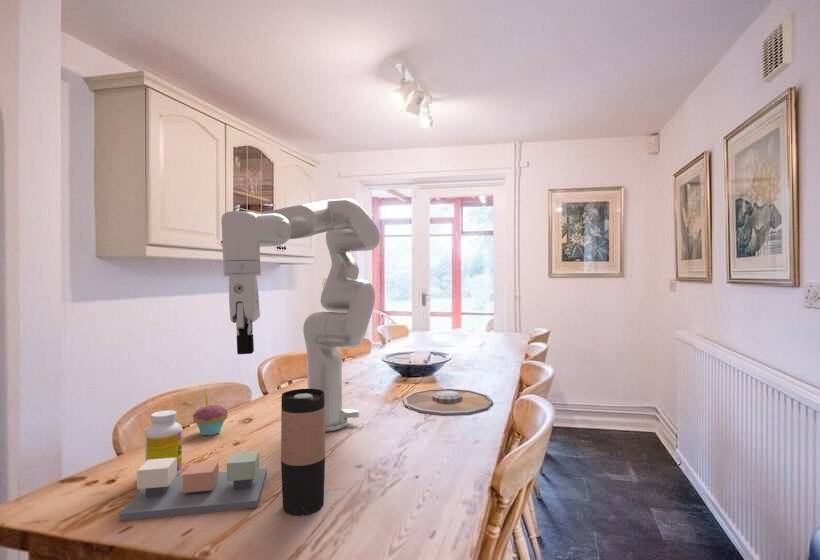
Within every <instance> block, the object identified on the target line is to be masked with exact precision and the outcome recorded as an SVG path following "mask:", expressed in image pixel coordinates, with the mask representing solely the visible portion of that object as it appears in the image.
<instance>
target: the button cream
mask: <svg viewBox="0 0 820 560" xmlns="http://www.w3.org/2000/svg"><path fill="white" fill-rule="evenodd" d="M136 471H137V472H136V474H137V475H136V476H137V479H136V480H137V481H136V483H137V484H136V488H137V490H141V489H145V488H156V487H168V486H169V484H170V483H171V482H172V480H173V479H174V478H175V476H176V475H177V457H176V458H163V459H149V460H147V461H146V462H144V463H143V464H142V465H141V466H140V467H139V468H138V469H137V470H136ZM177 476H178V475H177Z"/></svg>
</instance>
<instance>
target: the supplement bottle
mask: <svg viewBox="0 0 820 560" xmlns="http://www.w3.org/2000/svg"><path fill="white" fill-rule="evenodd" d="M177 417H178V414H177V410H173V409H168V410H159V411H155V412H153V413H151V414H150V421H151V425H150V426H148V427H147V428H146V430H145V436H144V438H145V441H144V442H145V444H144V445H145V448H144V449H145V450H144V451H145V453H144V454H145V456H144V458H145V460H144V461H145V462H146V461H147V460H149V459H163V458H176V457H177V475H176V476H179V475H180V474H181V472H182V470H183V469H182V468H183V464H182V463H183V455H182V453H183V452H182V450H183V448H182V447H183V443H182V442H183V441H182V440H183V439H182V438H183V437H182V436H183V435H182V433H183V432H182V429H183V427H182V425H181V424H180V423H179V422H176V419H177ZM145 462H144V463H145Z"/></svg>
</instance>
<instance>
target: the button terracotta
mask: <svg viewBox="0 0 820 560" xmlns="http://www.w3.org/2000/svg"><path fill="white" fill-rule="evenodd" d="M219 466H220V465H219V461H218V460H217V461H208V462H207V461H206V462H196V463H195V462H191V463H190V464H189V465H188V467H187V468H186V469H185V471H184V472H183V474H182V475H183V493H187V492H198V491H209V490H213V488H214V486H215V484H216V482H217V480H218V479H219V472H220V470H219Z"/></svg>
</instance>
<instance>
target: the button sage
mask: <svg viewBox="0 0 820 560" xmlns="http://www.w3.org/2000/svg"><path fill="white" fill-rule="evenodd" d="M258 469H260V451H247V452H246V451H244V452H233V453H232V452H231V455H230V457H229V458H228V460H227V462H226V472H227V481H237V480H248V479H255V478H256V475H257V472H258Z"/></svg>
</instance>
